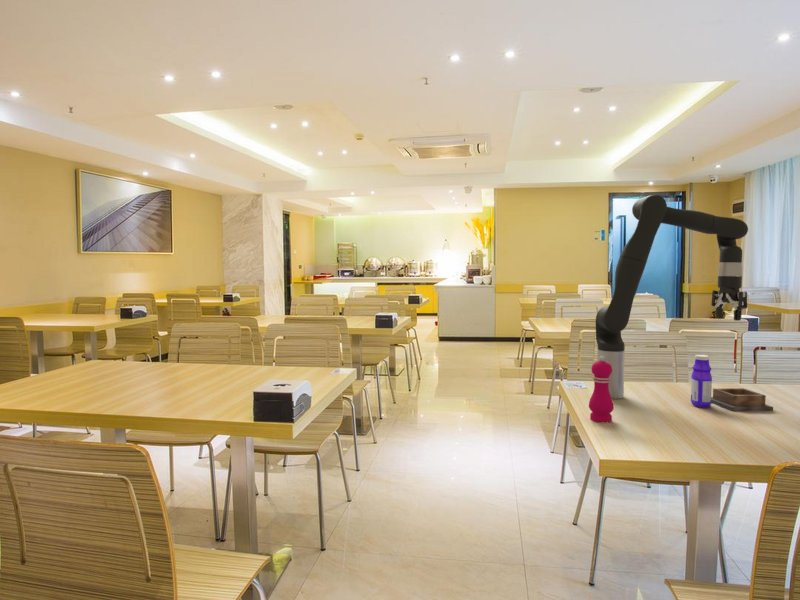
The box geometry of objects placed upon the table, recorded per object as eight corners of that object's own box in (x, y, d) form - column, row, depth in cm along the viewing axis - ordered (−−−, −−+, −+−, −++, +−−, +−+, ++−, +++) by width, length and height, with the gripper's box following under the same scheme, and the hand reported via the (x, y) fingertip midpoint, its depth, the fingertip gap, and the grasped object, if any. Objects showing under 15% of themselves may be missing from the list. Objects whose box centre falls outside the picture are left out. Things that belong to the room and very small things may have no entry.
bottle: (713, 408, 176) (715, 357, 175) (695, 408, 178) (696, 356, 177) (705, 403, 183) (707, 354, 183) (688, 402, 185) (689, 353, 184)
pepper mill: (601, 415, 168) (602, 353, 167) (618, 421, 162) (619, 357, 161) (583, 418, 166) (584, 355, 165) (599, 424, 159) (601, 358, 158)
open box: (731, 410, 174) (731, 396, 173) (705, 400, 188) (706, 387, 187) (773, 410, 174) (773, 396, 174) (744, 400, 188) (744, 387, 188)
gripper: (706, 274, 199) (704, 317, 200) (736, 275, 185) (734, 321, 186) (724, 275, 200) (722, 317, 201) (755, 275, 186) (752, 321, 187)
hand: (728, 319), depth 193 cm, fingers open, 8 cm apart
